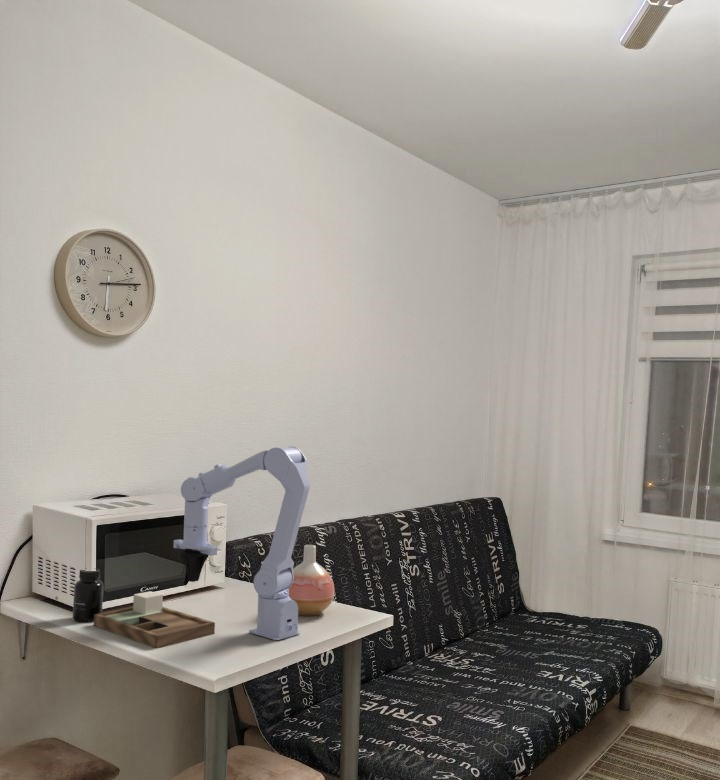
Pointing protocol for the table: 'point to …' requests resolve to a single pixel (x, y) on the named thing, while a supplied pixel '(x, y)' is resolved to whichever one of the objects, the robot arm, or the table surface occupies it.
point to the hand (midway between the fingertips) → (193, 580)
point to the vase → (311, 585)
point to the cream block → (147, 602)
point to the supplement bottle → (87, 596)
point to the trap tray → (154, 626)
